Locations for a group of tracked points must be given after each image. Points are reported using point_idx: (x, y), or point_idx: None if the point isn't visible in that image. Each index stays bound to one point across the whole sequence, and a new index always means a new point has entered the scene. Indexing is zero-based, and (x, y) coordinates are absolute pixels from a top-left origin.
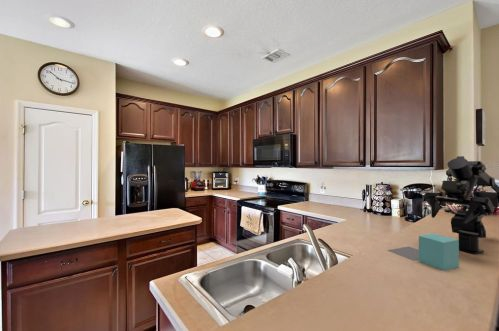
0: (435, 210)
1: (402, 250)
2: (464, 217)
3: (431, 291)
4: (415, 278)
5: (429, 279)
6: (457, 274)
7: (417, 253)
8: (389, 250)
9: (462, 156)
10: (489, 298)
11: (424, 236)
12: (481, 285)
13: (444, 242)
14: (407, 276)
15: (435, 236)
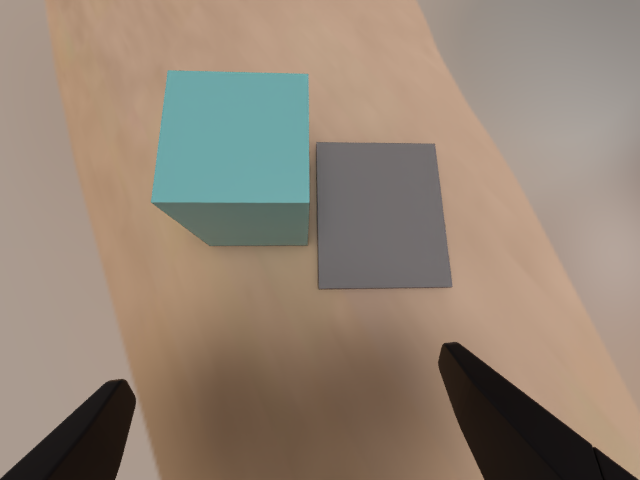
0: (517, 470)
1: (415, 204)
2: (75, 431)
3: (168, 12)
4: (232, 41)
5: (210, 70)
6: None
7: (367, 231)
8: (430, 151)
9: None
10: (69, 103)
11: (286, 89)
12: (110, 169)
13: (168, 76)
14: (251, 33)
15: (258, 145)
